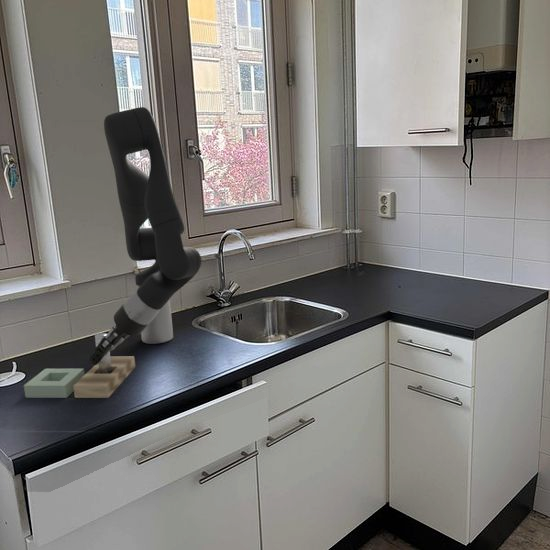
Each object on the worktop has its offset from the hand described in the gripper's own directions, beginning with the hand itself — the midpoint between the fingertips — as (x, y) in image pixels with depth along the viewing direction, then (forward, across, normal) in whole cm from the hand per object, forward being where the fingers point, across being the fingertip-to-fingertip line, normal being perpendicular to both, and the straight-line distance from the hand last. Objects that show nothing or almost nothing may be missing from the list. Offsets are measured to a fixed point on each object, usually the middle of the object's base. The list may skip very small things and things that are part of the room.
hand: (96, 359), depth 136 cm
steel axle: (+3, 0, +6) cm, 6 cm away
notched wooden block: (+3, 0, +6) cm, 6 cm away
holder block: (+10, +5, -2) cm, 11 cm away
